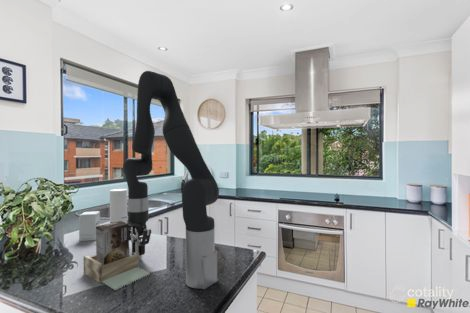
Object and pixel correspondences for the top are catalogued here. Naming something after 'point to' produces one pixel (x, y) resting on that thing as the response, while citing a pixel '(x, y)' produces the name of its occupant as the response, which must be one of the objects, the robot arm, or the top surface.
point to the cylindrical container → (118, 205)
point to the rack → (108, 267)
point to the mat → (125, 278)
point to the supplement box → (88, 225)
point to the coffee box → (112, 242)
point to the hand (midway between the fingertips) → (138, 253)
